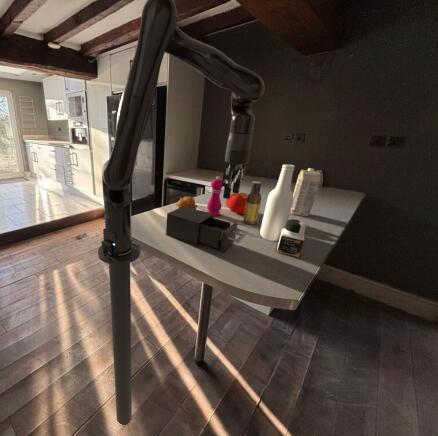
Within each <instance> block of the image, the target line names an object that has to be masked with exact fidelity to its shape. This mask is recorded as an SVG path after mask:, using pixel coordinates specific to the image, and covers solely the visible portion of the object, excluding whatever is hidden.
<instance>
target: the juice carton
mask: <svg viewBox="0 0 438 436" xmlns="http://www.w3.org/2000/svg"><path fill="white" fill-rule="evenodd" d="M321 179H322V173H321V172H320V171H319V170H315V168H311V167H308V168H307V169H301V170H300V171H299V174H298V176H297V179H296V183H295V187H294V190H293V192H292V194H293V203H292V207H291V211H290V214H291V215H296V216H301V217H309V214H310V213H311V212H312V208H313V206H314V203H315V199H316V195H317V193H318V189H319V186H320V183H321Z"/></svg>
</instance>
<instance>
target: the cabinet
mask: <svg viewBox="0 0 438 436" xmlns="http://www.w3.org/2000/svg"><path fill="white" fill-rule="evenodd" d="M211 217H212V218H215V216H214V214H211V213H208V212H207V211H204V210H200V209H197V210H196V209H193V208H189V207H185V206H183V207H180V208H178V207H177V208H176V209H173V210H172V211H169V212H167V213H166V225H165V227H166V228H165V235H166V236H169V237H172V238H174V239H177V240H180V241H183V242H185V243H188V244H190V245H193V246H196V247H197V246H199V245H200V244H201V243H200V242H198V237H199V228H200V224H202V223H203V222H205V221H206V220H208V219H210V218H211Z"/></svg>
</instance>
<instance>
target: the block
mask: <svg viewBox="0 0 438 436" xmlns="http://www.w3.org/2000/svg"><path fill="white" fill-rule="evenodd" d="M212 228H215V229H219V230H221V233H220V239H219V243H220V242H221V241H222V235H223V232H224V231H225V229H222V228H219V227H216V226H214V227H212Z"/></svg>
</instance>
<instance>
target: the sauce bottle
mask: <svg viewBox="0 0 438 436" xmlns="http://www.w3.org/2000/svg"><path fill="white" fill-rule="evenodd" d="M262 185H263V183H262V182H261V181H259V180H257V181H256V180H254V181H253V180H252V181H251V187H250V191H249V193H248V194H249V196H248V197H247V200H246V206H245V212H244V214H243V222H244V223H245V224H248V225H256V224H257V223H258V220H259V215H260V209H261V205H262V194H261V193H260V192H261V188H262Z"/></svg>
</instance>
